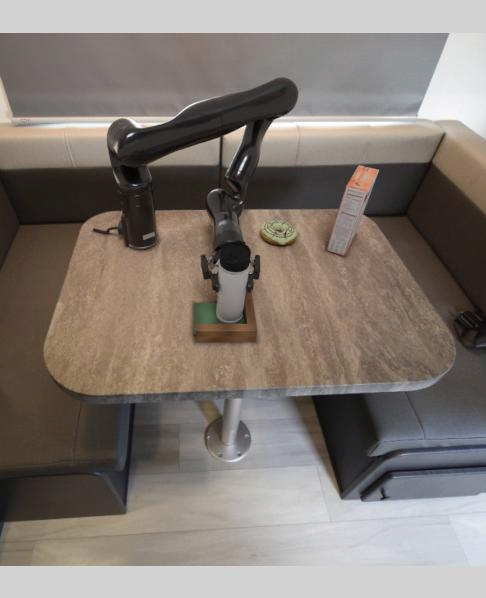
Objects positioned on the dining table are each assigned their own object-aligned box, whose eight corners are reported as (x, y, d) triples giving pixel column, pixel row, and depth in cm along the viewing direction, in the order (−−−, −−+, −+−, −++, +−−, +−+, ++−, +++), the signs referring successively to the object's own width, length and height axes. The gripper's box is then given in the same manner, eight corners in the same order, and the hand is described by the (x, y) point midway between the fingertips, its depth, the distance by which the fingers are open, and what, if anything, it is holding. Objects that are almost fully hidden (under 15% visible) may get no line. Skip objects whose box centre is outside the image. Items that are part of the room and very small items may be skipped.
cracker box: (337, 227, 112) (358, 163, 97) (356, 233, 110) (381, 169, 95) (324, 250, 103) (345, 184, 88) (344, 257, 101) (370, 190, 86)
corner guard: (193, 342, 79) (193, 330, 76) (193, 297, 88) (193, 286, 86) (255, 342, 79) (257, 330, 76) (249, 297, 89) (250, 286, 86)
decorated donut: (285, 252, 102) (288, 242, 100) (253, 239, 106) (255, 229, 104) (300, 235, 108) (303, 225, 106) (270, 223, 112) (271, 213, 110)
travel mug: (246, 310, 85) (256, 244, 71) (236, 329, 81) (245, 263, 66) (222, 302, 87) (227, 236, 72) (211, 320, 83) (215, 254, 68)
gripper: (198, 229, 83) (199, 276, 71) (259, 229, 83) (269, 276, 72) (198, 253, 88) (199, 302, 77) (255, 253, 89) (264, 302, 77)
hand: (233, 289), depth 74 cm, fingers closed on travel mug, 6 cm apart
